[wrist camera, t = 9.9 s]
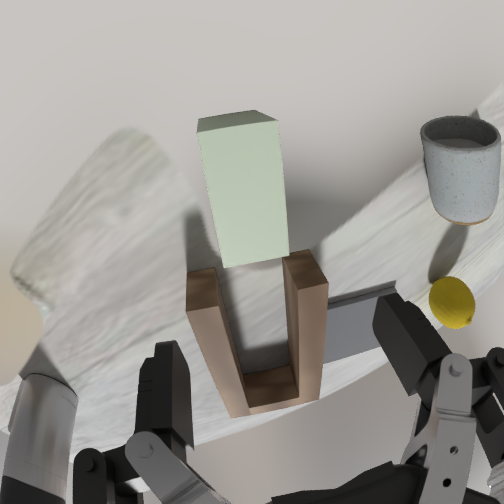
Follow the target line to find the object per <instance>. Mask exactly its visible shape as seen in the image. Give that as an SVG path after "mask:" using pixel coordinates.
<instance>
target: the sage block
mask: <svg viewBox="0 0 504 504" xmlns="http://www.w3.org/2000/svg"><path fill="white" fill-rule="evenodd" d="M197 137H198V143H199V148H200V153H201V159H202V164H203V170H204V175H205V180H206V185H207V190H208V195H209V200H210V205H211V210H212V215H213V220H214V225H215V229H216V235H217V239H218V244H219V249H220V253H221V258H222V263H223V267H224V268H228V267H233V266H238V265H243V264H249V263H254V262H259V261H264V260H269V259H274V258H279V257H284V256H289V241H288V227H287V213H286V200H285V188H284V177H283V165H282V154H281V144H280V134H279V125H278V120H276V119H274V118H272V117H269V116H267V115H265V114H263V113H260V112H258V111H256V110H250V111H244V112H237V113H230V114H223V115H217V116H212V117H206V118H201V119H199V120H198V127H197Z"/></svg>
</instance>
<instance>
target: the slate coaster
mask: <svg viewBox="0 0 504 504" xmlns="http://www.w3.org/2000/svg"><path fill="white" fill-rule="evenodd" d="M392 292H397V290H396V289H395V288H394V287H391V288H387V289H384V290H380V291H377V292H373V293H370V294H366V295H362V296H359V297H355V298H351V299H347V300H343V301H340V302H336V303H332V304H328V306H327V321H326V334H325V346H324V357H323V364H325V363H329V362H332V361H336V360H339V359H342V358H346V357H349V356H352V355H356V354H359V353H362V352H365V351H368V350H371V349H374V348H377V347H380V346H381V345H380V344H379V342H378V340H377V339H376V337H375V335H374V332H373V327H372V322H373V317H374V312H375V308H376V303H377V299H378V297H379V296H382V295H386V294H389V293H392Z"/></svg>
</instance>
